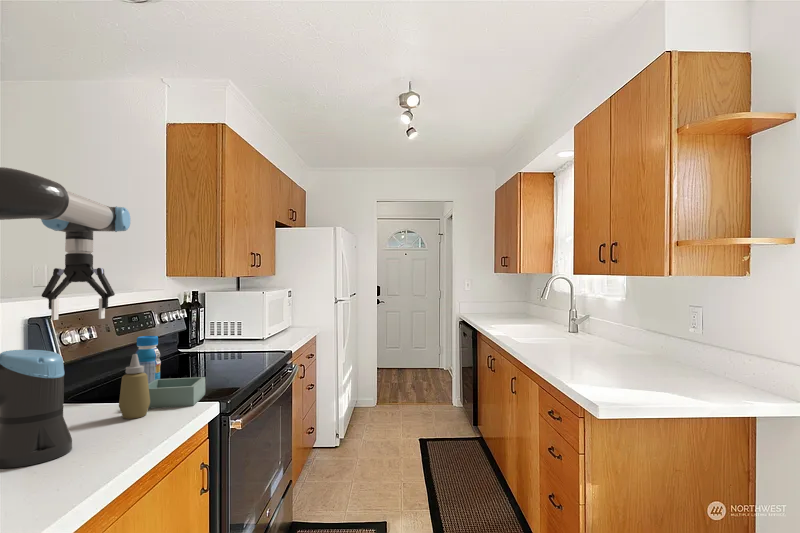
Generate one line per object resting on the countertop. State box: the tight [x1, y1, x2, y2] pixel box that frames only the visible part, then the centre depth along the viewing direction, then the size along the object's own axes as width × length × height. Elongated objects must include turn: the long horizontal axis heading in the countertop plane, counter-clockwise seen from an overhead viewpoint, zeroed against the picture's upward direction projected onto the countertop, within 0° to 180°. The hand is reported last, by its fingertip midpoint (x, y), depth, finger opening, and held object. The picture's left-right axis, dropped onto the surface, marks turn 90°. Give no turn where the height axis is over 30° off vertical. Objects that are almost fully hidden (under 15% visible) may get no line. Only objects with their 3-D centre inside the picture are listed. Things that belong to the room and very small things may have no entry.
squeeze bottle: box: [118, 353, 150, 420], centre depth 138 cm, size 8×8×18 cm
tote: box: [148, 376, 206, 409], centre depth 156 cm, size 16×16×6 cm
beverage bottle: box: [134, 335, 162, 384], centre depth 169 cm, size 8×8×20 cm
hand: (78, 319), depth 153 cm, fingers open, 13 cm apart
